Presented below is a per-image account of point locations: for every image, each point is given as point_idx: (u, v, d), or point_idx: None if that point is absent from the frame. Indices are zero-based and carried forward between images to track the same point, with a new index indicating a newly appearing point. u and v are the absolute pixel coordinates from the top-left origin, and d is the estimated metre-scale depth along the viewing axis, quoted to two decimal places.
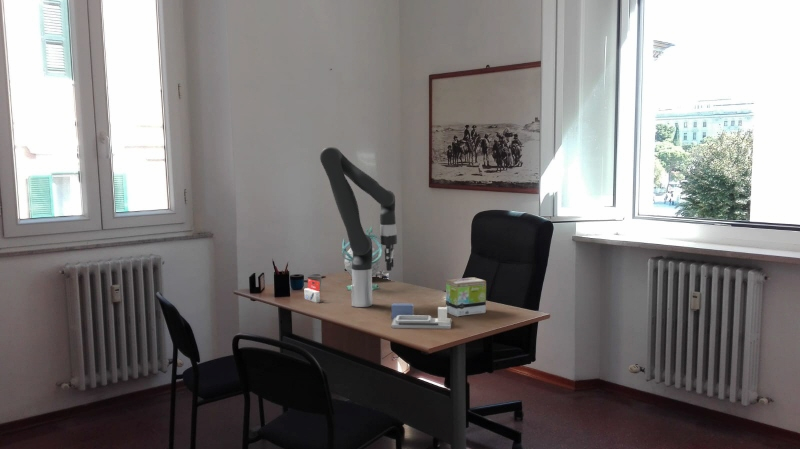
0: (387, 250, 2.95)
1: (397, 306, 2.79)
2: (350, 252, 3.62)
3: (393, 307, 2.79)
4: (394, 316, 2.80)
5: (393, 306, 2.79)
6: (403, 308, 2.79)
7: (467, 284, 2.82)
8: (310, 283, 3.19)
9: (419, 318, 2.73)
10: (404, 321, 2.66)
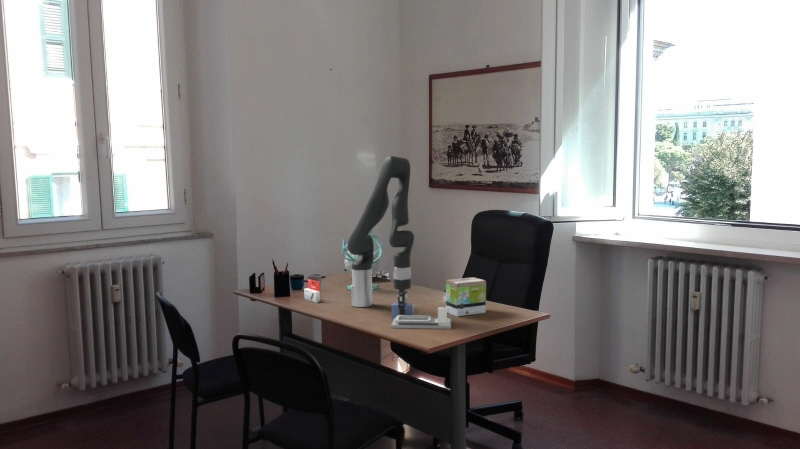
0: (400, 299, 2.74)
1: (397, 306, 2.79)
2: None
3: (393, 307, 2.79)
4: (394, 316, 2.80)
5: (393, 306, 2.79)
6: None
7: (467, 284, 2.82)
8: (310, 283, 3.19)
9: (419, 318, 2.73)
10: (404, 321, 2.66)
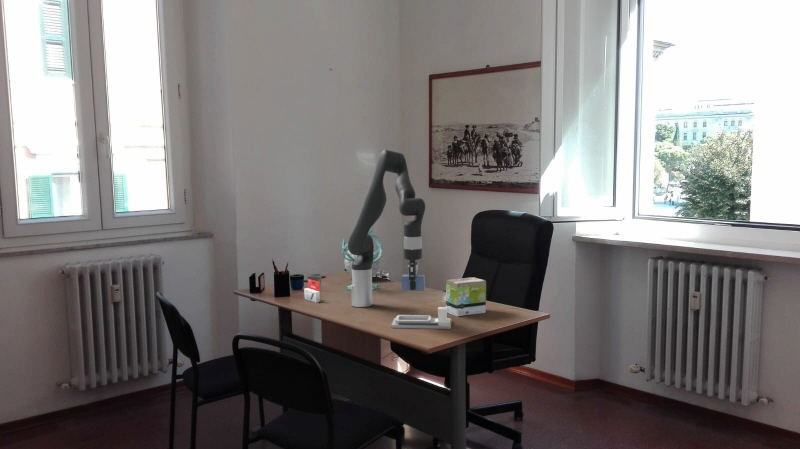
0: (411, 269, 2.61)
1: (408, 277, 2.66)
2: None
3: (403, 278, 2.67)
4: (404, 288, 2.67)
5: (403, 277, 2.67)
6: None
7: (467, 284, 2.82)
8: (310, 283, 3.19)
9: (419, 318, 2.73)
10: (404, 321, 2.66)
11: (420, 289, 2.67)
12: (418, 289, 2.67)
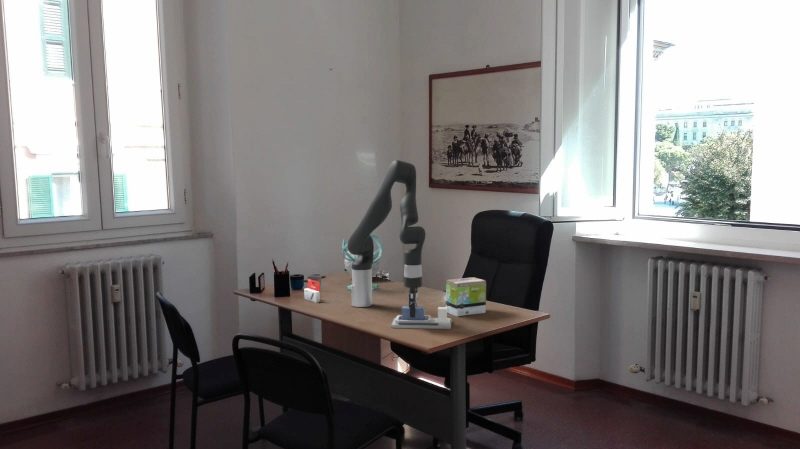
0: (411, 295, 2.62)
1: (408, 309, 2.68)
2: None
3: (403, 310, 2.68)
4: (405, 319, 2.68)
5: (404, 309, 2.68)
6: None
7: (467, 284, 2.82)
8: (310, 283, 3.19)
9: None
10: (404, 321, 2.66)
11: None
12: None
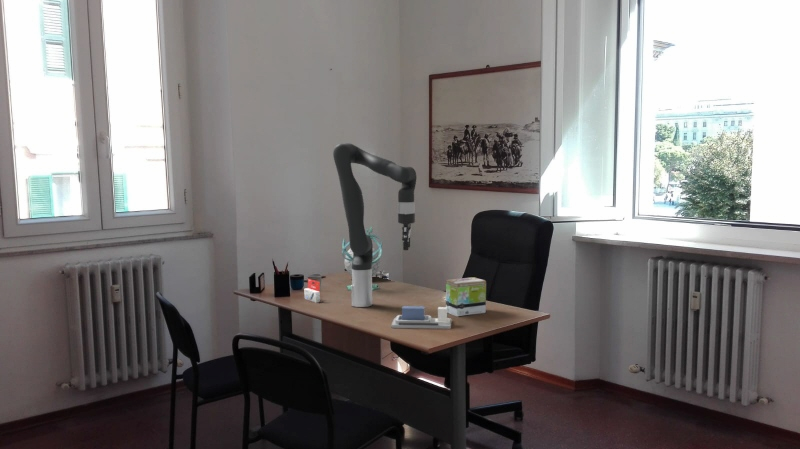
0: (405, 228, 2.83)
1: (408, 309, 2.68)
2: (350, 252, 3.62)
3: (403, 310, 2.68)
4: (405, 319, 2.68)
5: (404, 309, 2.68)
6: (414, 312, 2.68)
7: (467, 284, 2.82)
8: (310, 283, 3.19)
9: None
10: (404, 321, 2.66)
11: None
12: None
